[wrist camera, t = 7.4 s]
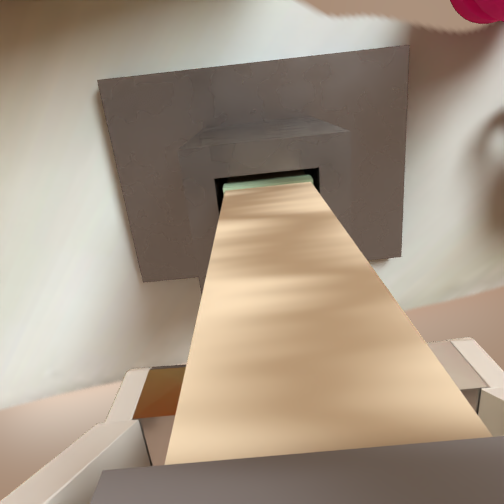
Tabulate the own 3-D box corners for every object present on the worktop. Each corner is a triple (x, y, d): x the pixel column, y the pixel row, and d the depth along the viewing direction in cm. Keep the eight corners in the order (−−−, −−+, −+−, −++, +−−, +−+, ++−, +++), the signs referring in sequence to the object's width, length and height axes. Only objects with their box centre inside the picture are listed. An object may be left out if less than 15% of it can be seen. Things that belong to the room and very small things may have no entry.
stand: (147, 274, 36) (93, 373, 23) (104, 80, 30) (0, 72, 17) (394, 250, 35) (477, 338, 23) (401, 47, 29) (518, 13, 17)
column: (230, 244, 25) (168, 810, 5) (219, 163, 23) (63, 572, 3) (310, 236, 25) (555, 787, 5) (306, 154, 23) (662, 525, 3)
